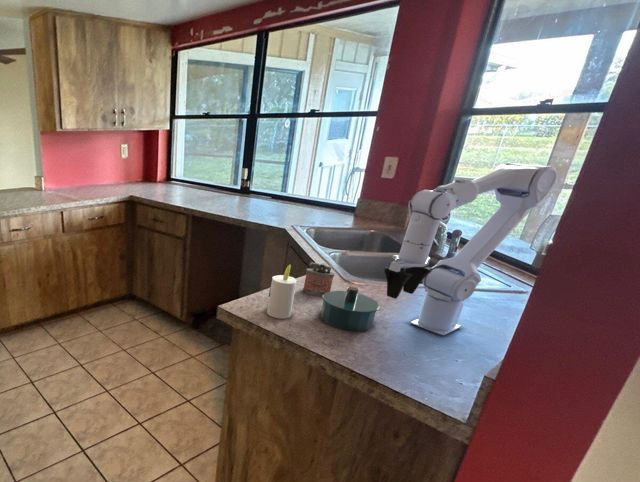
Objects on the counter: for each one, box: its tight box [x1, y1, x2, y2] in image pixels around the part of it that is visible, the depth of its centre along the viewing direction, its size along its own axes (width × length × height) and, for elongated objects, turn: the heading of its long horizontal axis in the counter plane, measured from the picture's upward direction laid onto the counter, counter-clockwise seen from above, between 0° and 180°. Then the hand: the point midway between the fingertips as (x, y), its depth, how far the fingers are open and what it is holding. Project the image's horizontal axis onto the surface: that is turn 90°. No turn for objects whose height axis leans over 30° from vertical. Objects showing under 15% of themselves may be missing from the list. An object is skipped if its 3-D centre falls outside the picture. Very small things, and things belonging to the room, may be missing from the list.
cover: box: [322, 286, 380, 313], centre depth 108 cm, size 14×14×5 cm
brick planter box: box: [302, 261, 336, 298], centre depth 126 cm, size 8×3×10 cm, turn 58°
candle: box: [266, 263, 298, 320], centre depth 111 cm, size 6×6×15 cm
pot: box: [320, 300, 377, 332], centre depth 110 cm, size 13×13×5 cm
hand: (399, 294), depth 101 cm, fingers open, 7 cm apart
